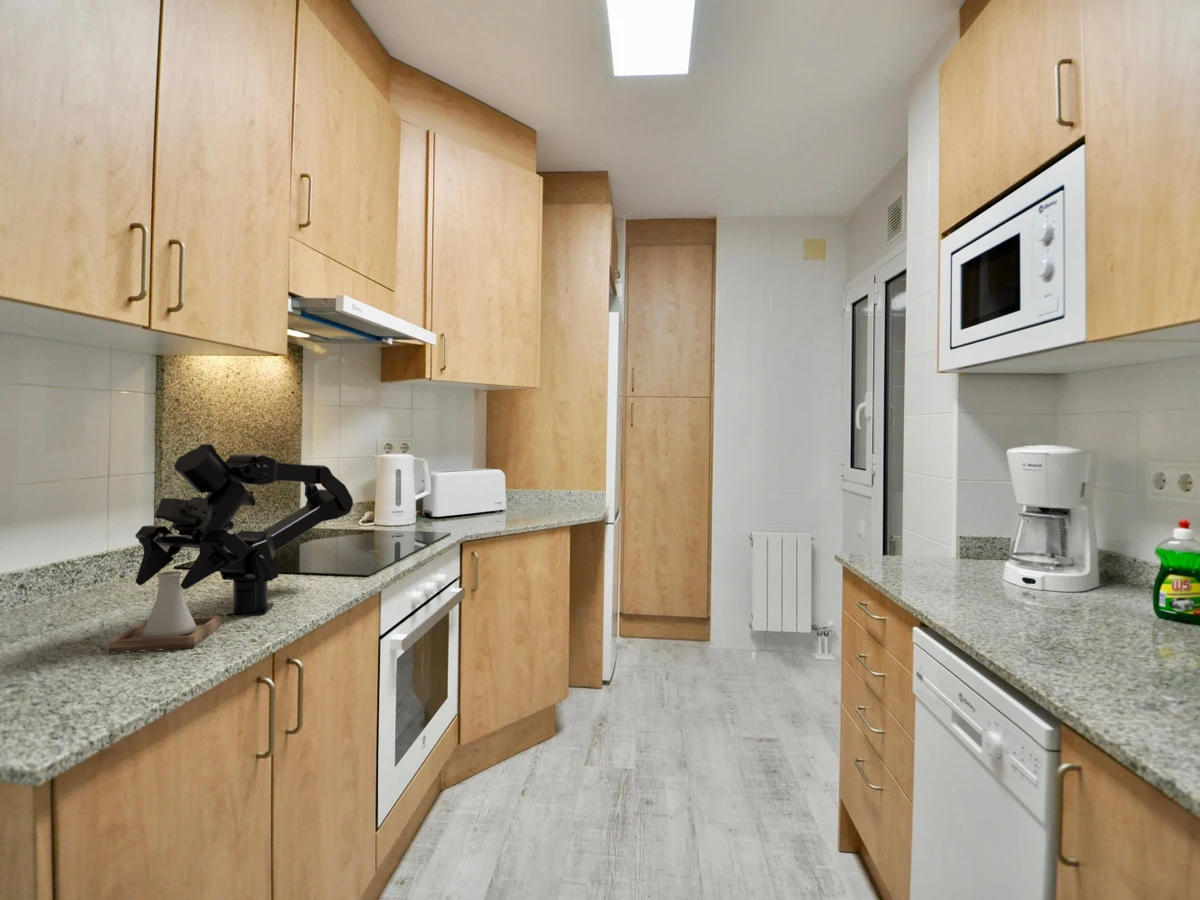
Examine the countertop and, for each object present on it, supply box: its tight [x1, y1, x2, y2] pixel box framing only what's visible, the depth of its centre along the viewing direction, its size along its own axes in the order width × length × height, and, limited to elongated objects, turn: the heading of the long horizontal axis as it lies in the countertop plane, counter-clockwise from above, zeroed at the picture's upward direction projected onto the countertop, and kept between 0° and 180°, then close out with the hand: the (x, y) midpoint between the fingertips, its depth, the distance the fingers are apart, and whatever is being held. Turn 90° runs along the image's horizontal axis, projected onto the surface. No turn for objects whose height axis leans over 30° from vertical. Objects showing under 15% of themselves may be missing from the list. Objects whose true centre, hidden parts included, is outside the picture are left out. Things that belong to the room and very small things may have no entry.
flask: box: [141, 570, 197, 638], centre depth 103 cm, size 7×7×10 cm
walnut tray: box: [108, 615, 222, 654], centre depth 103 cm, size 12×12×2 cm
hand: (160, 585), depth 102 cm, fingers open, 9 cm apart
